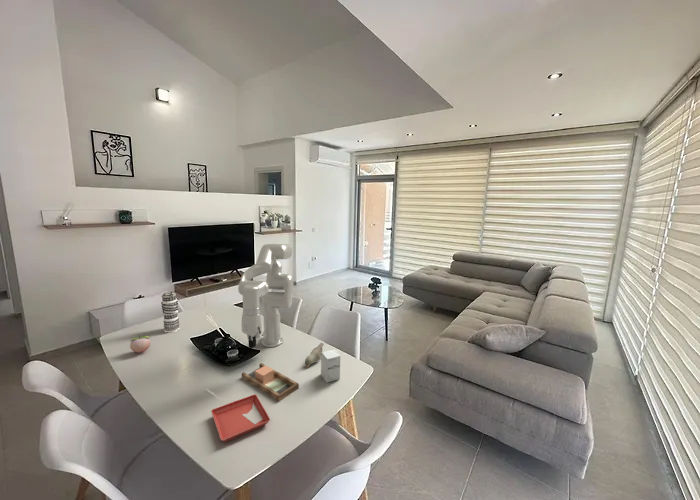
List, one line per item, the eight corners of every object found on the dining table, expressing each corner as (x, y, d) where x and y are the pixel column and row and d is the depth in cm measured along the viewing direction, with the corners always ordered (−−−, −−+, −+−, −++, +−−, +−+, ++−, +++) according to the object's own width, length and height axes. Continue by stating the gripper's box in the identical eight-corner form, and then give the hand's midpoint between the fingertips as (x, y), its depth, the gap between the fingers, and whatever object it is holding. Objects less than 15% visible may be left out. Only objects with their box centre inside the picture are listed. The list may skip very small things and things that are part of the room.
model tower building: (174, 333, 187) (171, 295, 183) (160, 332, 188) (156, 295, 183) (183, 327, 196) (180, 290, 192) (169, 326, 197) (166, 290, 192)
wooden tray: (241, 378, 143) (241, 373, 143) (261, 368, 152) (261, 362, 152) (279, 402, 127) (279, 396, 127) (298, 389, 136) (298, 383, 136)
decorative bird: (301, 367, 154) (301, 354, 152) (318, 353, 168) (318, 341, 167) (310, 370, 152) (310, 357, 150) (326, 356, 166) (326, 343, 164)
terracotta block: (255, 380, 141) (255, 371, 140) (265, 374, 146) (265, 365, 145) (263, 385, 138) (263, 375, 137) (273, 379, 142) (273, 369, 141)
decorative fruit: (131, 358, 158) (129, 341, 156) (130, 352, 164) (128, 335, 162) (152, 353, 164) (151, 336, 162) (150, 347, 170) (148, 330, 168)
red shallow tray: (271, 426, 115) (270, 419, 114) (221, 448, 104) (221, 440, 104) (256, 400, 129) (255, 393, 128) (211, 417, 119) (210, 409, 118)
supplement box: (326, 383, 141) (326, 359, 139) (320, 375, 148) (320, 351, 146) (340, 379, 145) (340, 355, 142) (334, 371, 151) (334, 348, 149)
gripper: (235, 309, 142) (236, 345, 145) (254, 317, 133) (255, 354, 136) (248, 305, 148) (249, 339, 151) (268, 312, 139) (268, 348, 142)
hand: (252, 346), depth 144 cm, fingers closed
